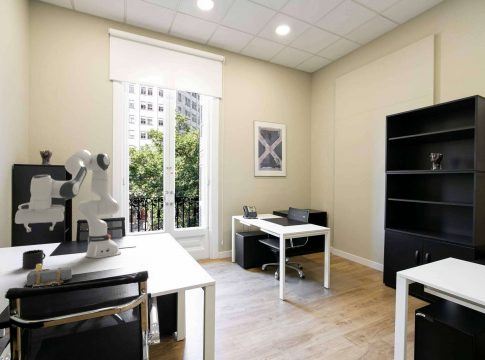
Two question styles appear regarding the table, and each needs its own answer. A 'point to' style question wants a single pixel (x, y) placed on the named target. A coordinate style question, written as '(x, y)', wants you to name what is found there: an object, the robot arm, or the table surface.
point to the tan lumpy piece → (42, 270)
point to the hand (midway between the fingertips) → (40, 230)
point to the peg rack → (48, 282)
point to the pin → (38, 267)
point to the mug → (32, 259)
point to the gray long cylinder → (49, 276)
